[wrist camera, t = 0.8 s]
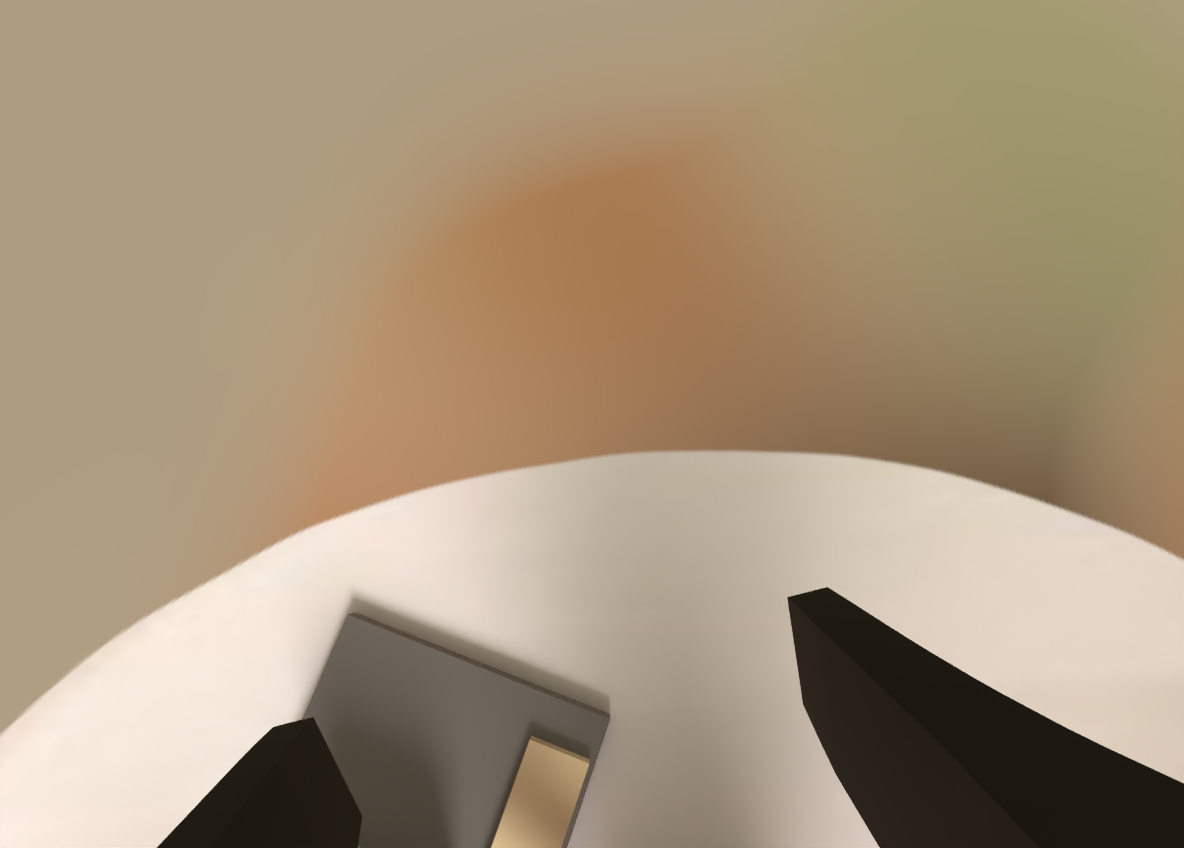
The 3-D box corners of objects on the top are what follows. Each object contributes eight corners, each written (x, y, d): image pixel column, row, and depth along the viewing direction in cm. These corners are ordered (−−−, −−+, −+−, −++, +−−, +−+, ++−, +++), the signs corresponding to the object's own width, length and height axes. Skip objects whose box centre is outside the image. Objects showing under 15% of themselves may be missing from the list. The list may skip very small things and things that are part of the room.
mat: (488, 1076, 27) (485, 1092, 26) (212, 947, 28) (200, 959, 27) (609, 714, 30) (610, 719, 29) (354, 612, 31) (347, 614, 30)
